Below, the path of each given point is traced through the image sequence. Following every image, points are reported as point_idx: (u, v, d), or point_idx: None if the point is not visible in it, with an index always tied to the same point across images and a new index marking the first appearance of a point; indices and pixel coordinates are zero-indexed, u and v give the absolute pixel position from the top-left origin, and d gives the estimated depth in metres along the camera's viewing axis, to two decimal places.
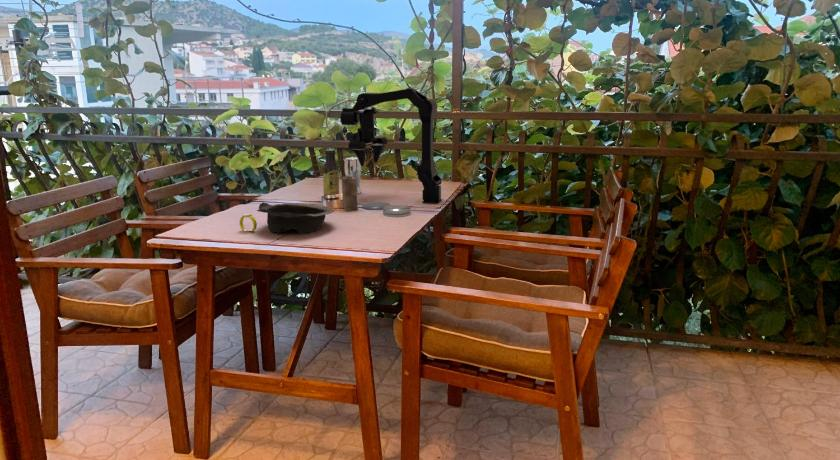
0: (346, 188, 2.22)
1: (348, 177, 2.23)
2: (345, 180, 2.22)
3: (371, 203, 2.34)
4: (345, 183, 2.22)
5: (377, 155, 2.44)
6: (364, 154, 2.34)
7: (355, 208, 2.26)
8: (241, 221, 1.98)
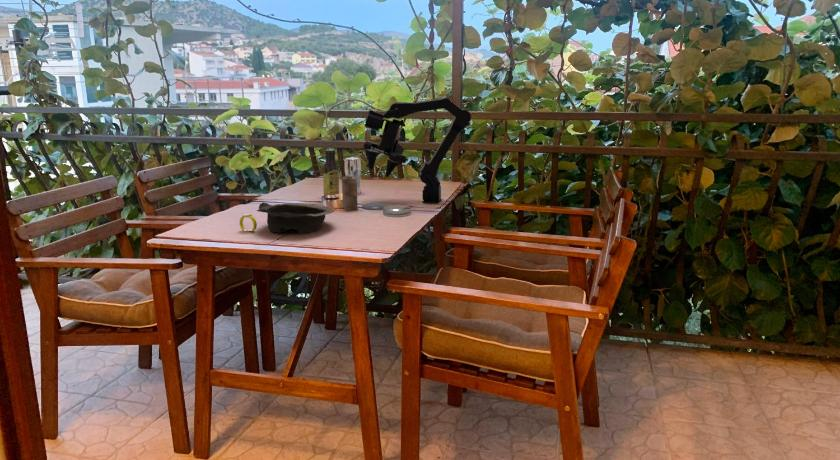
0: (346, 188, 2.22)
1: (348, 177, 2.23)
2: (345, 180, 2.22)
3: (371, 203, 2.34)
4: (345, 183, 2.22)
5: None
6: (368, 156, 2.34)
7: (355, 208, 2.26)
8: (241, 221, 1.98)
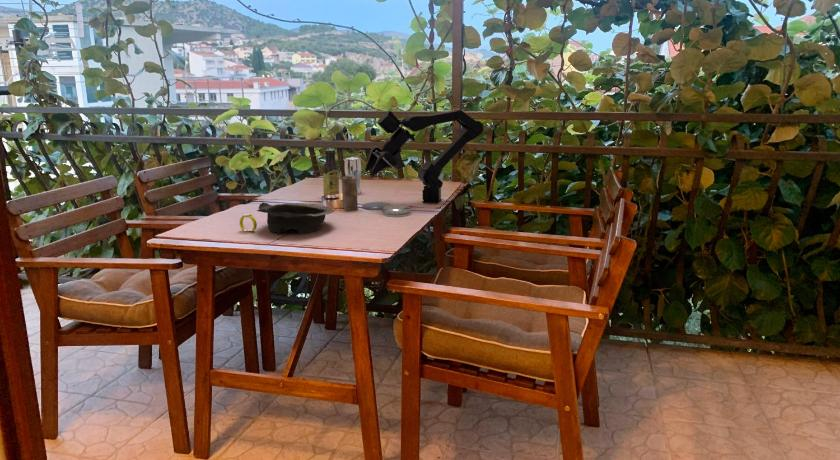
0: (346, 188, 2.22)
1: (348, 177, 2.23)
2: (345, 180, 2.22)
3: (371, 203, 2.34)
4: (345, 183, 2.22)
5: None
6: (369, 157, 2.31)
7: (355, 208, 2.26)
8: (241, 221, 1.98)
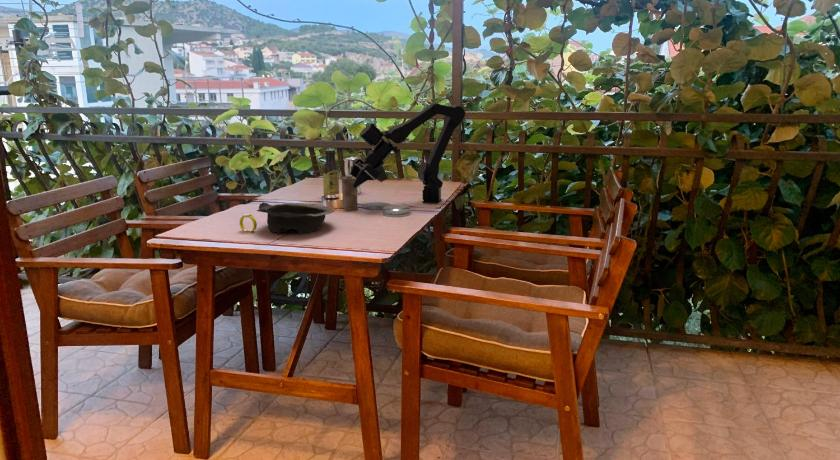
0: (346, 188, 2.22)
1: (348, 177, 2.23)
2: (345, 180, 2.22)
3: (371, 203, 2.34)
4: (345, 183, 2.22)
5: None
6: (352, 169, 2.30)
7: (355, 208, 2.26)
8: (241, 221, 1.98)
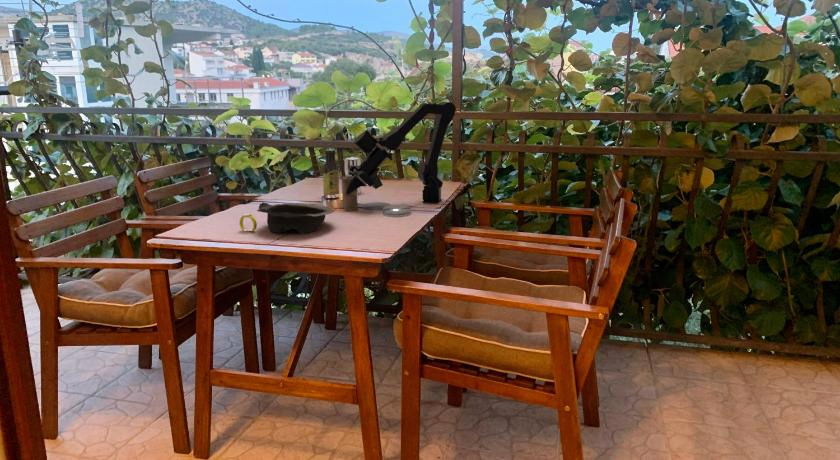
0: (346, 188, 2.22)
1: (348, 177, 2.23)
2: (345, 180, 2.22)
3: (371, 203, 2.34)
4: (345, 183, 2.22)
5: None
6: None
7: (355, 208, 2.26)
8: (241, 221, 1.98)
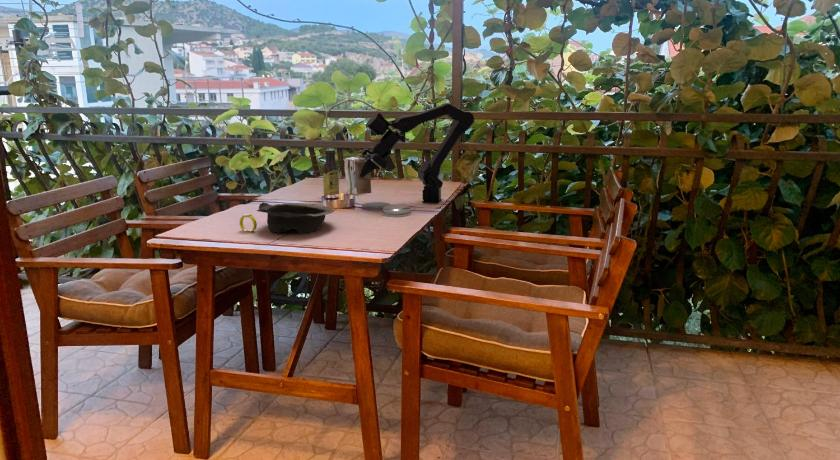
0: (359, 171, 2.23)
1: (361, 160, 2.23)
2: (358, 163, 2.22)
3: (371, 203, 2.34)
4: (358, 166, 2.22)
5: None
6: None
7: (369, 191, 2.26)
8: (241, 221, 1.98)
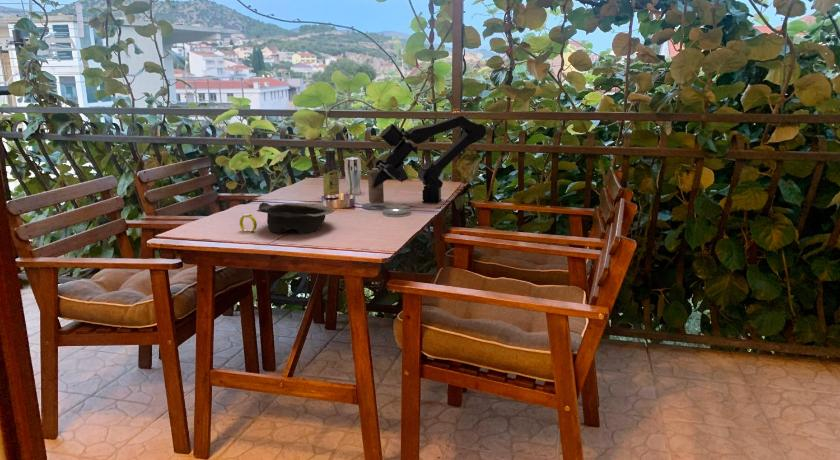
0: (373, 181, 2.25)
1: (374, 170, 2.26)
2: (372, 173, 2.24)
3: (371, 203, 2.34)
4: (372, 176, 2.25)
5: None
6: None
7: (381, 201, 2.28)
8: (241, 221, 1.98)
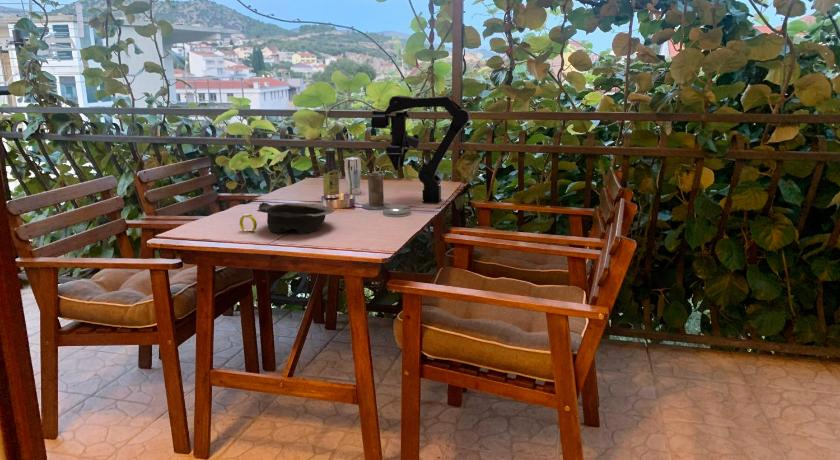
0: (373, 184, 2.26)
1: (375, 174, 2.26)
2: (372, 177, 2.25)
3: None
4: (372, 180, 2.25)
5: None
6: None
7: (381, 204, 2.29)
8: (241, 221, 1.98)
